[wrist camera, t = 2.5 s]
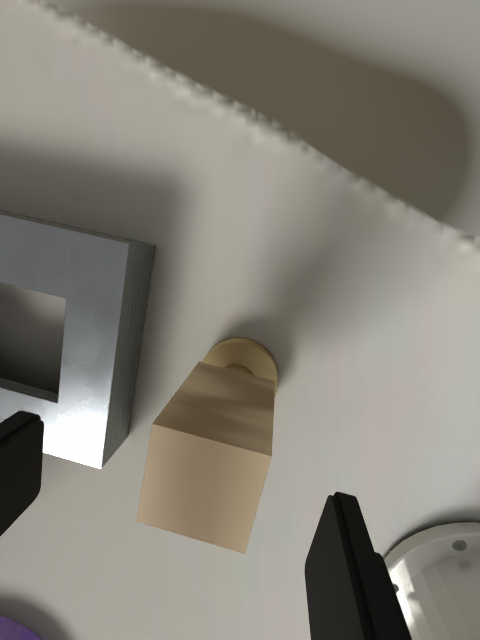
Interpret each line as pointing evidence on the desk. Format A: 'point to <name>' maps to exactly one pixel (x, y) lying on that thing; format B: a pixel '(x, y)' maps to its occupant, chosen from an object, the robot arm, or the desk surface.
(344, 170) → the desk surface
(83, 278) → the keyhole plate
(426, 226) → the desk surface
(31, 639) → the masking tape
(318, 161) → the desk surface
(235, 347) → the keyhole peg
